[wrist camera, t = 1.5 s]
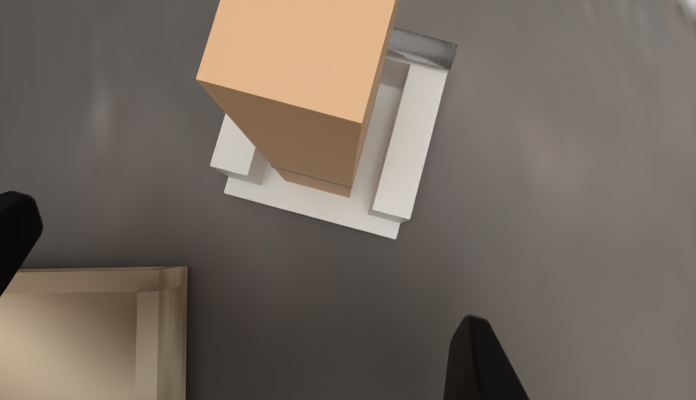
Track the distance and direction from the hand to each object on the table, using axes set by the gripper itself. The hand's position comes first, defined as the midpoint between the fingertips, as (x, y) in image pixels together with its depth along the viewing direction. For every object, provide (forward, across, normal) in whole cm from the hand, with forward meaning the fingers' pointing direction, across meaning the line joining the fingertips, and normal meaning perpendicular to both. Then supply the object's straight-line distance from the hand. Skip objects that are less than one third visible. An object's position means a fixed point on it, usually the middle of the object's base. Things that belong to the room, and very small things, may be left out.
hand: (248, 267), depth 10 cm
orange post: (+12, 0, +4) cm, 13 cm away
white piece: (+12, 0, +5) cm, 13 cm away
